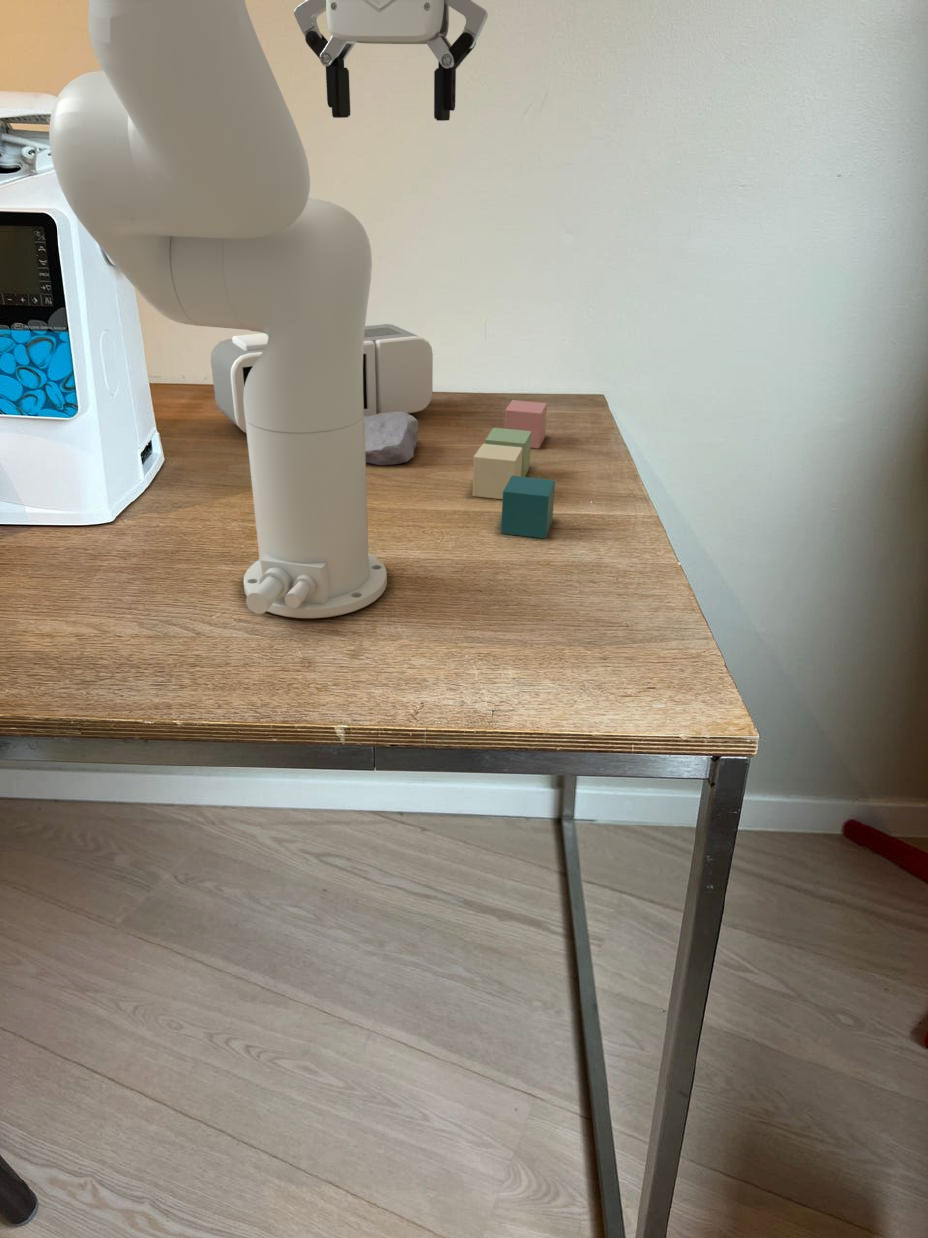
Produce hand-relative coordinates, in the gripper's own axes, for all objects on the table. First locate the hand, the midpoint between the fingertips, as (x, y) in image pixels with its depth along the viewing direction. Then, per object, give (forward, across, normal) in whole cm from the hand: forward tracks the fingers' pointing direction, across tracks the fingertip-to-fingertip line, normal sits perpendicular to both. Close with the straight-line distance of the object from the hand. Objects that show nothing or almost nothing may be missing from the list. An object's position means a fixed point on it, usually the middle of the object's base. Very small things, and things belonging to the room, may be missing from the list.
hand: (391, 118), depth 83 cm
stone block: (+37, -7, +11) cm, 39 cm away
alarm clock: (+37, -16, +21) cm, 45 cm away
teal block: (+36, +16, -6) cm, 40 cm away
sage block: (+36, +11, +9) cm, 39 cm away
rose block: (+36, +11, +21) cm, 43 cm away
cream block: (+36, +11, +3) cm, 38 cm away
